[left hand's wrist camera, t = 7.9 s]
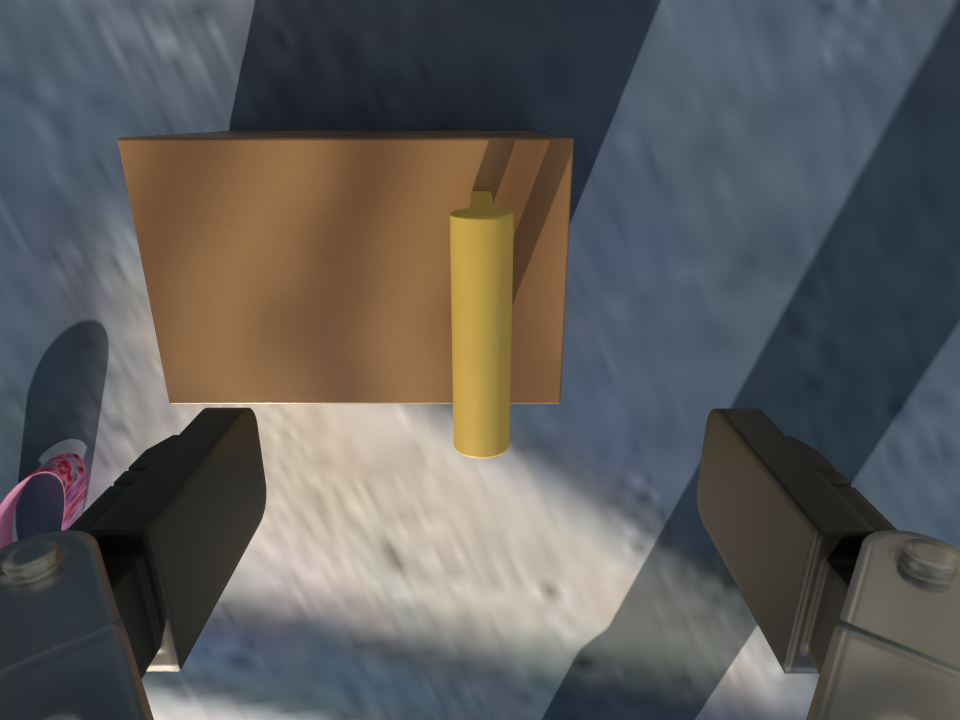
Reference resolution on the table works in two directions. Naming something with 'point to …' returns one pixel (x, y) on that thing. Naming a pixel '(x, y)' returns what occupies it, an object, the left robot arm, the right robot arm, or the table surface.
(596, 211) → the table surface
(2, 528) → the pink curved piece
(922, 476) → the table surface
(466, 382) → the lid
